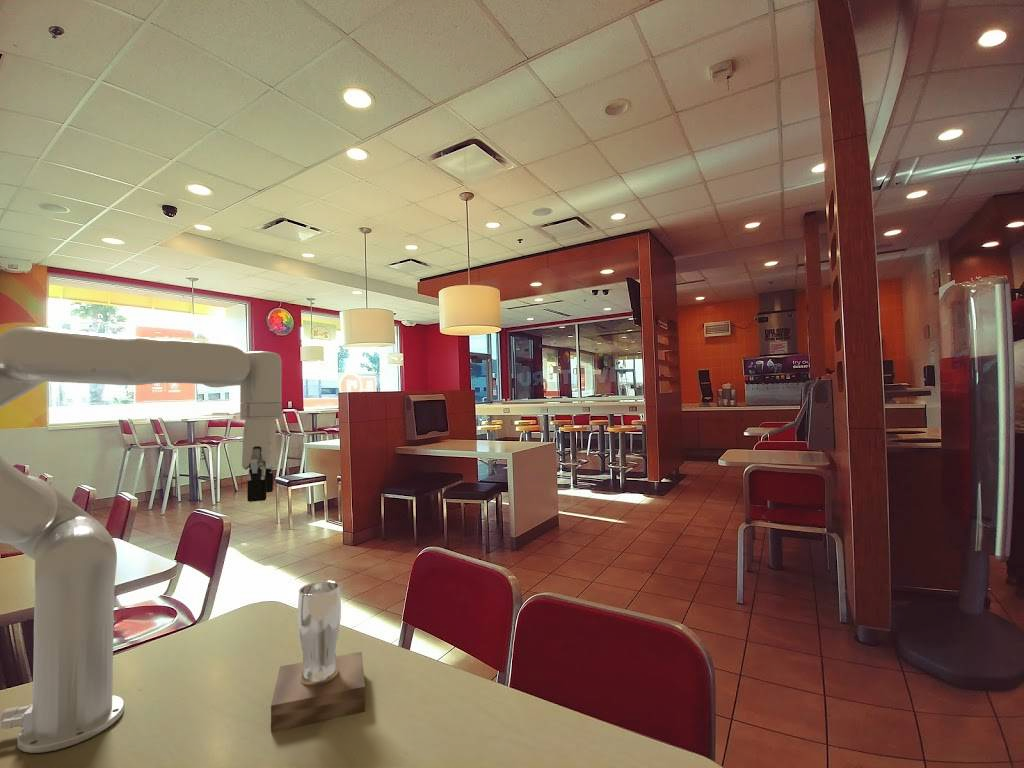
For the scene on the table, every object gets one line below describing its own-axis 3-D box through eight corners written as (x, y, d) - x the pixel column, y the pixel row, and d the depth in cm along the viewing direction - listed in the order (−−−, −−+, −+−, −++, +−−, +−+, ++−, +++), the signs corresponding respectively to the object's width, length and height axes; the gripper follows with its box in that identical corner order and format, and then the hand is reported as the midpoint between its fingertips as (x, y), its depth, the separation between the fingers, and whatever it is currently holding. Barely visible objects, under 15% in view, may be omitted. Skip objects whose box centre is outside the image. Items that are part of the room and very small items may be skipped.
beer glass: (347, 665, 86) (347, 580, 87) (329, 688, 79) (329, 596, 80) (310, 664, 87) (310, 579, 87) (289, 687, 80) (289, 595, 80)
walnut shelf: (270, 732, 75) (271, 705, 75) (280, 689, 86) (280, 666, 86) (365, 711, 80) (364, 686, 80) (361, 673, 91) (361, 651, 91)
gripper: (248, 412, 105) (247, 490, 105) (231, 413, 89) (230, 506, 89) (285, 411, 108) (285, 488, 107) (276, 412, 92) (275, 503, 91)
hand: (260, 496), depth 98 cm, fingers open, 9 cm apart
